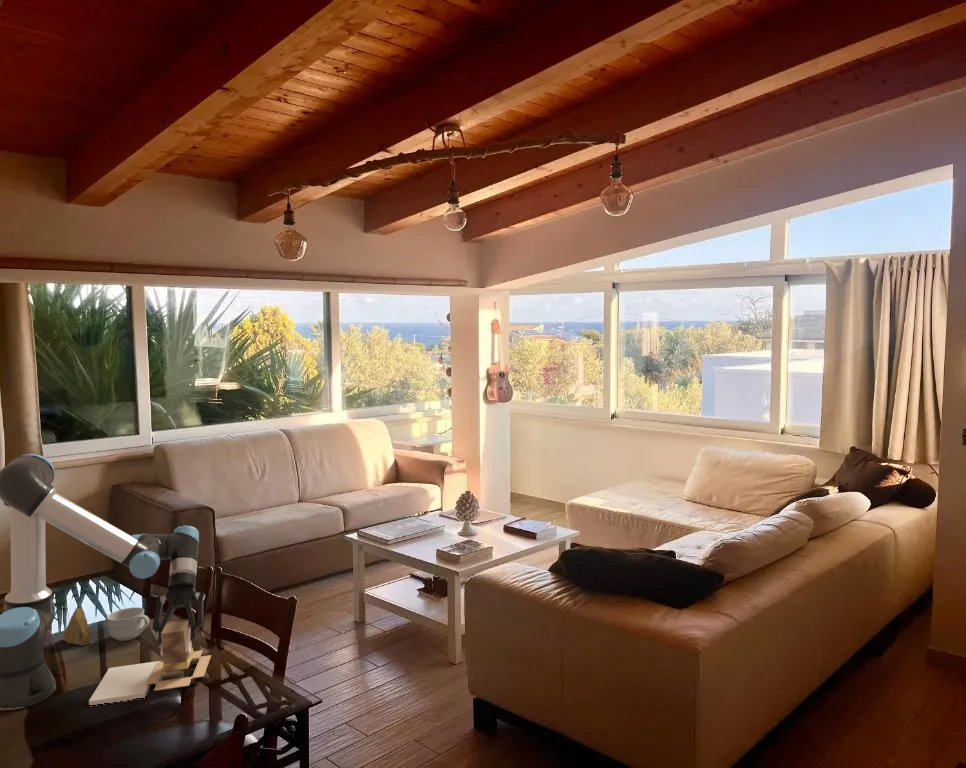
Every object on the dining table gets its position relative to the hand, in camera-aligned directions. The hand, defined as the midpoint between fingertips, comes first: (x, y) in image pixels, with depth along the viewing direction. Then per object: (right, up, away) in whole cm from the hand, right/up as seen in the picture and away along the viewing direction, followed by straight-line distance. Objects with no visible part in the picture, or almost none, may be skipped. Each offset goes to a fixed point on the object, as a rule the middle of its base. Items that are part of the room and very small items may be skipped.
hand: (175, 653), depth 208 cm
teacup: (-27, -6, +30) cm, 41 cm away
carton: (0, -7, +3) cm, 8 cm away
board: (-14, -9, 0) cm, 16 cm away
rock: (-44, -7, +29) cm, 53 cm away
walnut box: (0, -4, +3) cm, 5 cm away
